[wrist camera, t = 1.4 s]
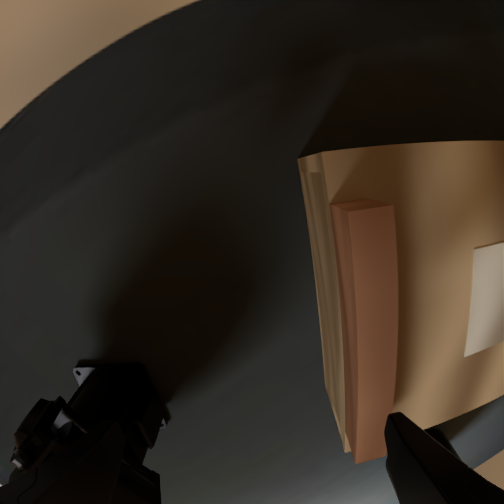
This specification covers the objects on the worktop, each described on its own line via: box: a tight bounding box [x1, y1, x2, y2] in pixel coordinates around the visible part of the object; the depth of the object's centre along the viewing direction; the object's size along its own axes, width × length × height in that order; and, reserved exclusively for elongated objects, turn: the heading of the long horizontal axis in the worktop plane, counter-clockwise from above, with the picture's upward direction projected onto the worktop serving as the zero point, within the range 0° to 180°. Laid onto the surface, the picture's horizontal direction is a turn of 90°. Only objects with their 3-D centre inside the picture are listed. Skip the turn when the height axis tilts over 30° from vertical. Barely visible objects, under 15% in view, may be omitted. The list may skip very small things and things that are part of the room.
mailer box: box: [297, 153, 343, 442], centre depth 17 cm, size 18×16×6 cm
